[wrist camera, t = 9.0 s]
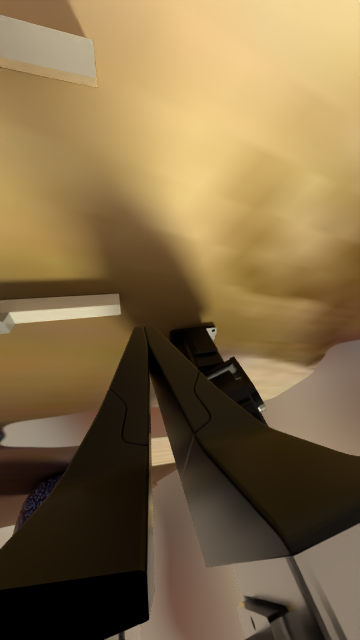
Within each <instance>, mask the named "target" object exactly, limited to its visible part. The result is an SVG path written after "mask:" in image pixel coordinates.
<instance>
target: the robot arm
mask: <svg viewBox="0 0 360 640" xmlns="http://www.w3.org/2000/svg"><path fill="white" fill-rule="evenodd" d="M216 331H217V329H216V327H215V326H207V327H198V328H189V329H180V330H173V331H171V332H170V336H169V340H168V339H167V338H166V337H165V336H164V335H163V334H162V333H161V332H160V331H159V330H158V329H156V328H155V327H154V326H153V325H151V326H145V327H135V328H134V329H133V332H132V334H131V336H130V339H129V341H128V344H127V346H126V348H125V351H124V353H123V356H122V358H121V360H120V363H119V365H118V368H117V370H116V372H115V375H114V377H113V380H112V382H111V384H110V387H109V390H108V391H107V394H106V396H105V399H104V401H103V403H102V405H101V407H100V409H99V412H98V414H97V415H96V417H95V419H94V421H93V423H92V425H91V427H90V429H89V430H88V432H87V434H86V436H85V437H84V439H83V441H82V443H81V445H80V446H79V448H78V450H77V451H76V453H75V455H74V457H73V459H72V460H71V462H70V464H69V466H68V467H67V469H66V471H65V472H64V474H63V476H62V477H61V479H60V480H59V482H58V483H57V485H56V486H55V488H54V489H53V491H52V492H51V493H50V494H49V496H48V497H47V498H46V499H45V500H44V501H43V503H42V504H41V505H40V506H39V507H38V508H37V509H36V510H35V511H34V513H33V514H32V515H31V516H30V517H29V518H28V519H27V520H26V521H25V522H24V524H23V525H22V526H21V527H20V528H19V529H18V530H17V531H16V532H15V533H14V535H13V536H12V537H11V538H10V539H9V540H8V541H7V542H6V544H5V545H4V546H3V547H2V548H1V549H0V640H141V627H140V624H142V623H144V622H146V621H148V620H149V616H150V611H151V606H152V601H153V595H154V591H155V590H154V551H153V508H152V507H153V505H152V460H151V417H150V377H151V380H152V384H153V387H154V391H155V394H156V398H157V401H158V404H159V408H160V411H161V415H162V418H163V421H164V425H165V428H166V432H167V435H168V438H169V442H170V445H171V449H172V452H173V455H174V459H175V462H176V466H177V469H178V472H179V476H180V479H181V481H182V486H183V490H184V493H185V496H186V500H187V503H188V506H189V510H190V513H191V517H192V520H193V524H194V527H195V530H196V533H197V537H198V540H199V544H200V547H201V550H202V554H203V557H204V561H205V564H206V567H214V566H222V565H229V564H232V567H233V570H234V573H235V577H236V580H237V583H238V586H239V590H240V593H241V597H242V600H243V602H242V603H240V604H238V605H237V610H238V614H239V617H240V621H241V625H242V628H243V632H244V635H245V640H360V456H354V455H349V454H345V453H342V452H338V451H335V450H333V449H330V448H327V447H324V446H321V445H318V444H315V443H312V442H309V441H306V440H303V439H300V438H297V437H294V436H292V435H289V434H286V433H283V432H280V431H277V430H275V429H272V428H270V427H268V425H267V423H266V421H265V420H264V418H263V416H262V414H261V412H263V411H265V410H266V407H265V405H264V403H263V401H262V399H261V397H260V395H259V393H258V392H257V390H256V388H255V387H254V385H253V383H252V382H251V380H250V379H249V377H248V376H247V374H246V373H245V372H244V370H243V369H242V367H241V366H240V364H239V363H238V362H237V360H236V359H235V357H234V356H233V357H231V358H230V359H229V360H227V361H225V362H224V361H223V359H222V357H221V355H220V354H219V352H218V349H217V347H216V345H215V344H214V342H213V341H214V338H215V334H216ZM173 334H174V335H173ZM149 372H150V374H149Z"/></svg>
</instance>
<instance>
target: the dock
mask: <svg viewBox="0 0 360 640" xmlns="http://www.w3.org/2000/svg"><path fill="white" fill-rule="evenodd" d="M0 67H2V68H7V69H12V70H17V71H21V72H26V73H31V74H35V75H40V76H45V77H50V78H54V79H59V80H64V81H68V82H73V83H78V84H83V85H87V86H92V87H97V88H98V85H97V75H96V66H95V56H94V47H93V40H92V39H88V38H84V37H81V36H77V35H73V34H70V33H66V32H62V31H59V30H55V29H51V28H48V27H44V26H40V25H37V24H33V23H29V22H26V21H22V20H18V19H15V18H11V17H7V16H4V15H0ZM111 315H121V310H120V299H119V294H102V295H84V296H66V297H48V298H30V299H12V300H1V301H0V334H3V333H10V332H11V330H12V328H13V327H14V325H15V324H16V323H28V322H39V321H51V320H63V319H75V318H87V317H99V316H111Z"/></svg>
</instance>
